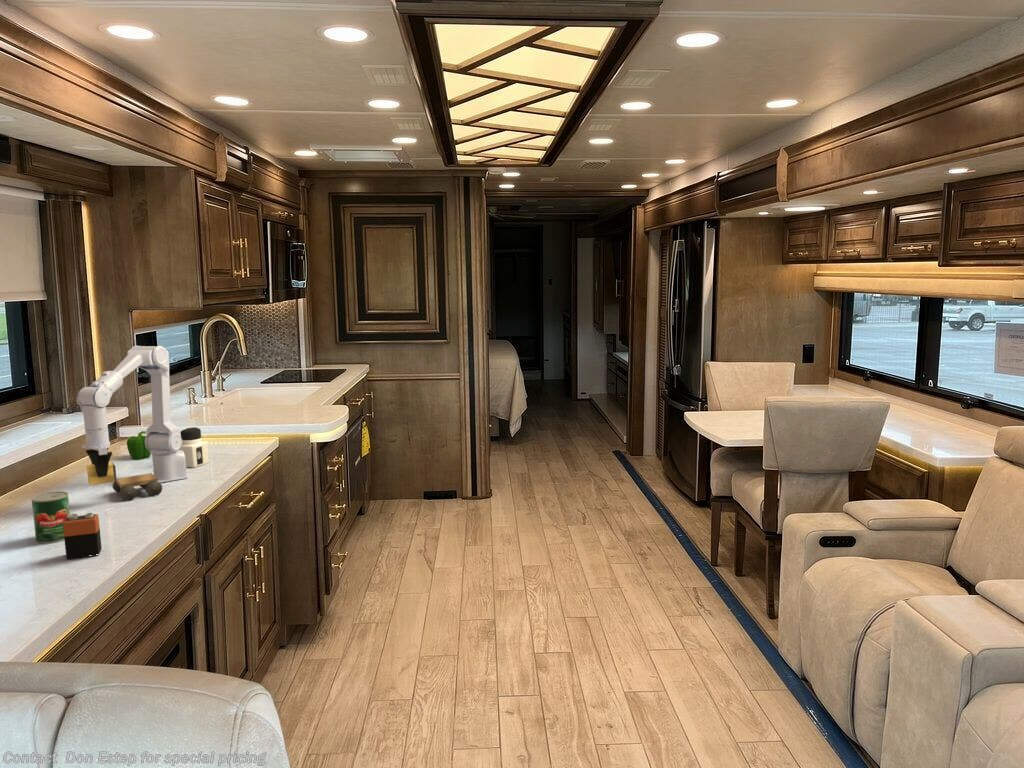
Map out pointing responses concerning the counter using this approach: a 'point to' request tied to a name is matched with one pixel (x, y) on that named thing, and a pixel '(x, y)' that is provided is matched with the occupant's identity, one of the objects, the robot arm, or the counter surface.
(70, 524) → the battery
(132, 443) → the bell pepper
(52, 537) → the canned tomato
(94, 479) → the block
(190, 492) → the counter surface
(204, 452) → the container
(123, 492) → the trolley
